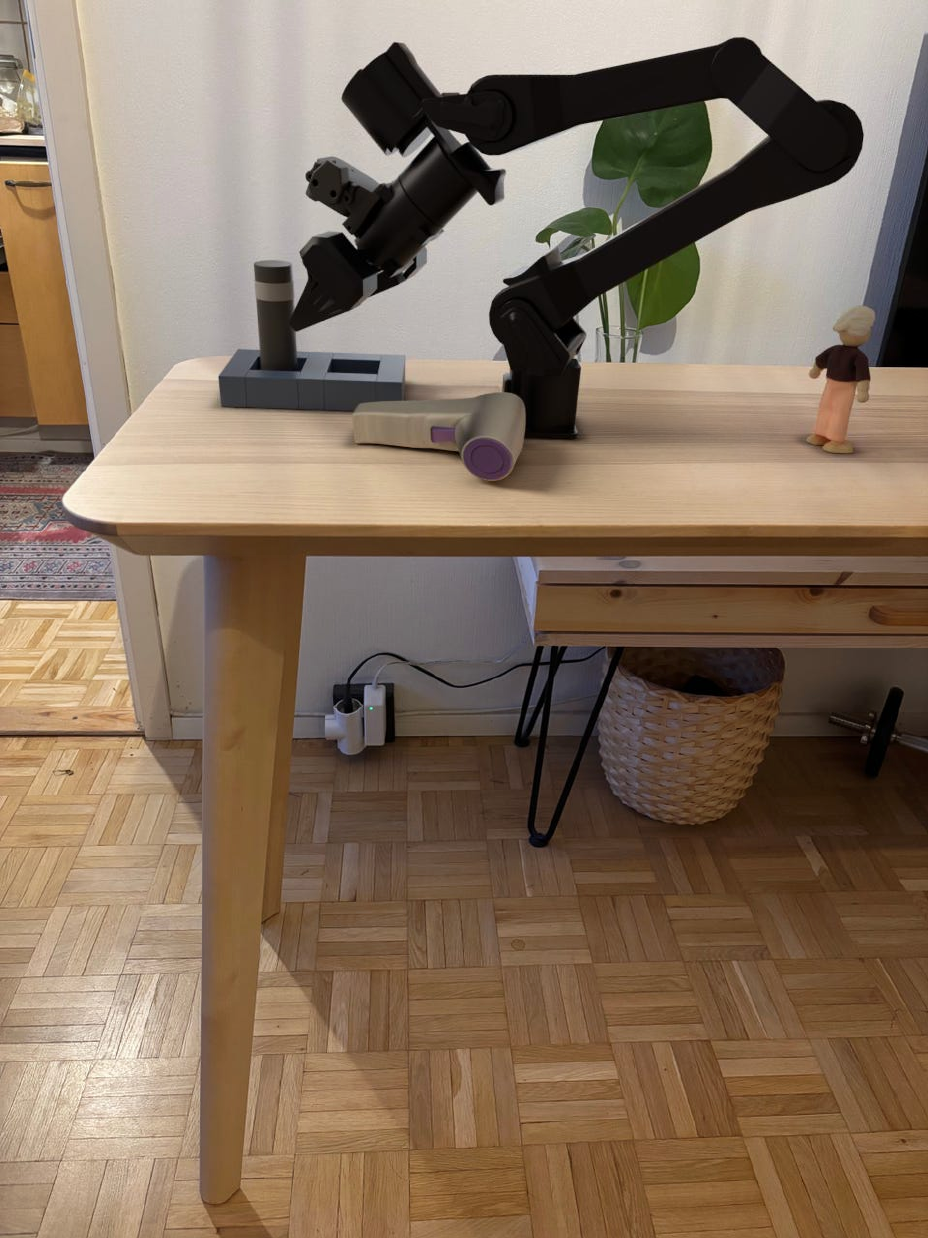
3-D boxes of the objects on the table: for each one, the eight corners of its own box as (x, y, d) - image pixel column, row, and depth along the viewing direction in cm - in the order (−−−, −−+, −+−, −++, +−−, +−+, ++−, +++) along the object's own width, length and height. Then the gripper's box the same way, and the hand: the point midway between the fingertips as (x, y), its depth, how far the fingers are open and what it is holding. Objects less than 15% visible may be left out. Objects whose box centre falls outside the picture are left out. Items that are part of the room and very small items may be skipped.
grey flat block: (405, 383, 99) (405, 354, 97) (401, 412, 90) (402, 382, 88) (240, 377, 98) (237, 348, 96) (220, 406, 89) (218, 375, 88)
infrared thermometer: (364, 437, 86) (525, 439, 84) (336, 487, 76) (519, 489, 74) (360, 389, 84) (526, 389, 82) (331, 433, 73) (520, 434, 72)
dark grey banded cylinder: (306, 393, 94) (300, 264, 88) (276, 400, 92) (268, 268, 85) (284, 385, 96) (277, 258, 90) (254, 392, 94) (245, 262, 87)
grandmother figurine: (872, 453, 85) (912, 313, 79) (845, 460, 84) (883, 316, 77) (807, 428, 91) (839, 295, 85) (780, 434, 89) (810, 298, 83)
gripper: (396, 120, 87) (296, 236, 95) (317, 126, 72) (204, 265, 80) (473, 216, 89) (369, 321, 97) (412, 242, 74) (293, 366, 82)
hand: (312, 316), depth 89 cm, fingers open, 9 cm apart
